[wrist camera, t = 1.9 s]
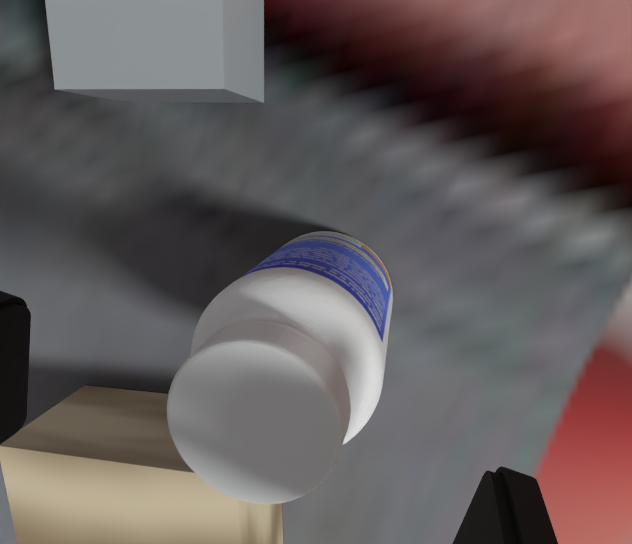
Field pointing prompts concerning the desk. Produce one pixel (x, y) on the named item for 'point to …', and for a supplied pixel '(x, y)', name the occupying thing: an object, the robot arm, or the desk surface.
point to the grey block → (159, 49)
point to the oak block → (119, 479)
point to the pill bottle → (284, 369)
